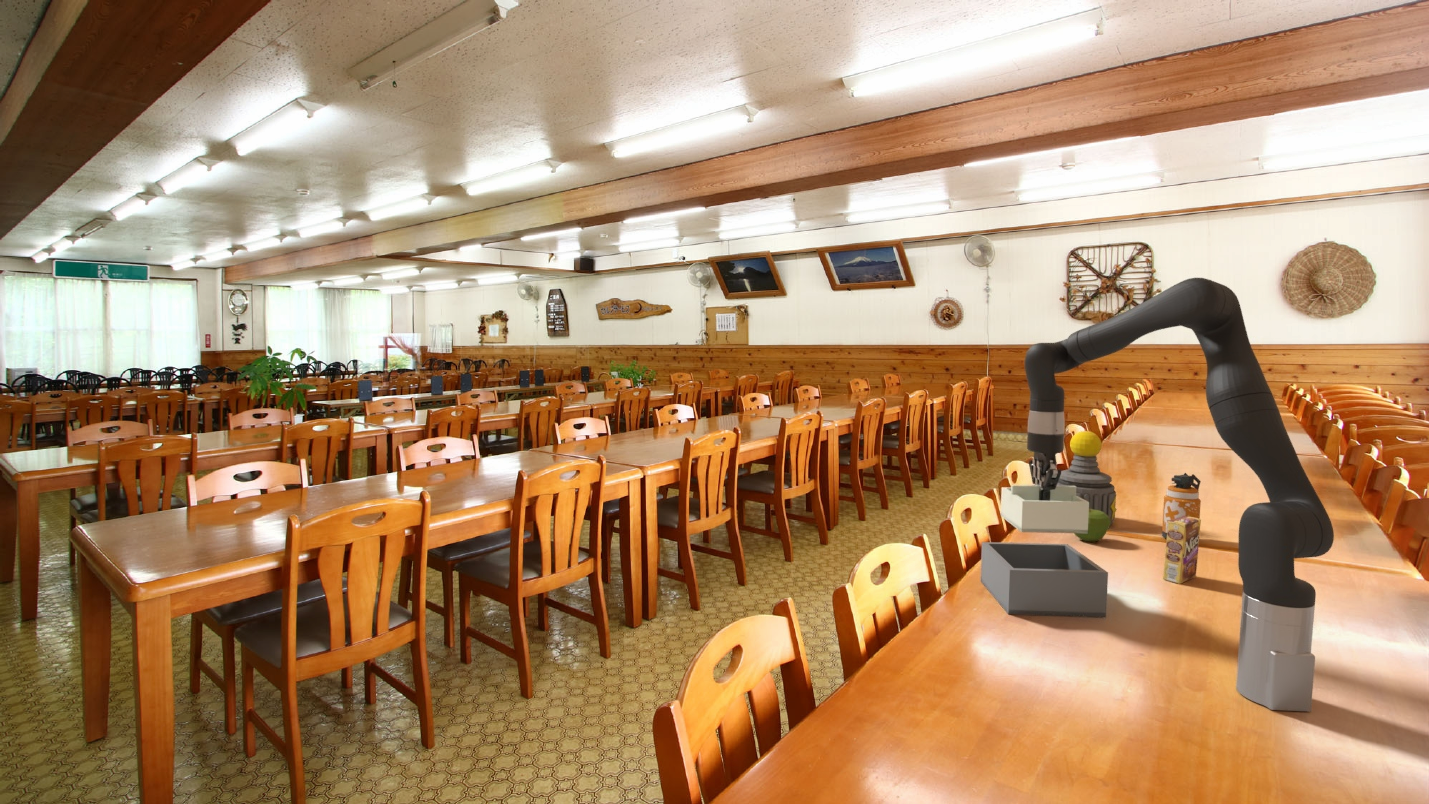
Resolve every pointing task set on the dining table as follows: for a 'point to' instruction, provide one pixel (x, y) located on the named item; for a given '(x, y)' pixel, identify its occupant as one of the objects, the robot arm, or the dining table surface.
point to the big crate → (1043, 579)
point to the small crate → (1044, 510)
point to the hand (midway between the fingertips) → (1042, 505)
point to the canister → (1181, 500)
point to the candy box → (1181, 549)
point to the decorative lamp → (1089, 474)
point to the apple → (1095, 526)
